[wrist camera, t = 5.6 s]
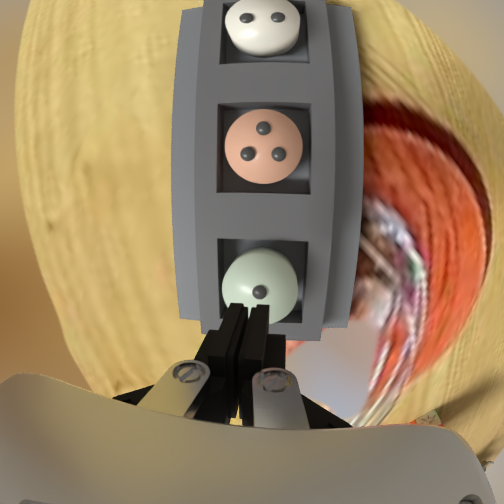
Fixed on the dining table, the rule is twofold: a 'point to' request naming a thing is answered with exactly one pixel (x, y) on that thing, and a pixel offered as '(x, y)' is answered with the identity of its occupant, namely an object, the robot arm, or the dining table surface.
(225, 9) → the button board
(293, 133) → the button three
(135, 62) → the dining table surface
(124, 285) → the dining table surface
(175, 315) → the dining table surface
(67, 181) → the dining table surface
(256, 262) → the button one
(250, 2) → the button two
